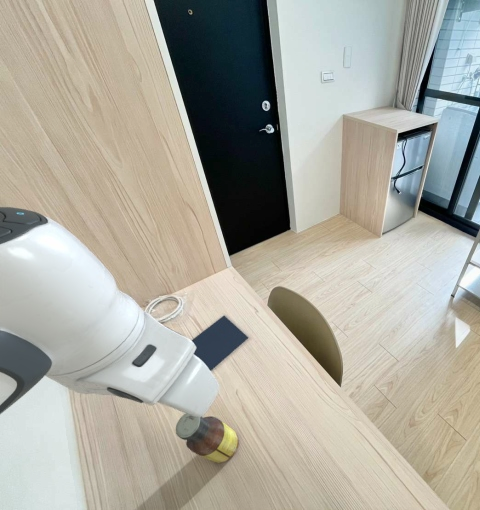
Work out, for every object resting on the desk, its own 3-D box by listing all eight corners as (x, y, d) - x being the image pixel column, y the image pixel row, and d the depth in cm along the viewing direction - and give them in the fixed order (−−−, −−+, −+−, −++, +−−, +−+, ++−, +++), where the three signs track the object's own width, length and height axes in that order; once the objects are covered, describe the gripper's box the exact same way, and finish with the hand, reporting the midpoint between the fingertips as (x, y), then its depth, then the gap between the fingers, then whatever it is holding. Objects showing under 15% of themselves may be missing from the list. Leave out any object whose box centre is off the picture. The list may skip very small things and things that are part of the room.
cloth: (198, 381, 70) (197, 381, 69) (174, 354, 75) (174, 353, 75) (248, 337, 79) (248, 337, 79) (224, 315, 84) (224, 315, 84)
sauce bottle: (231, 424, 63) (202, 393, 49) (244, 447, 60) (217, 421, 46) (204, 446, 60) (164, 420, 46) (216, 473, 56) (177, 453, 43)
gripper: (3, 343, 28) (87, 391, 38) (160, 407, 24) (211, 443, 34) (63, 297, 33) (125, 351, 42) (205, 344, 28) (239, 392, 38)
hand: (164, 392), depth 38 cm, fingers open, 8 cm apart
